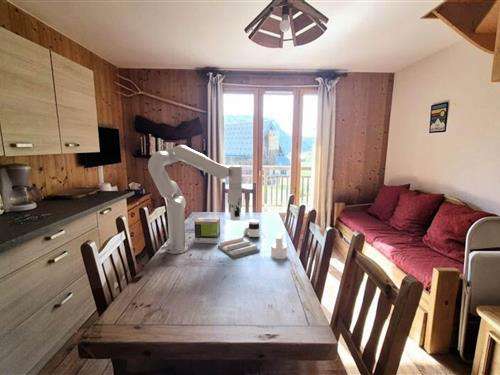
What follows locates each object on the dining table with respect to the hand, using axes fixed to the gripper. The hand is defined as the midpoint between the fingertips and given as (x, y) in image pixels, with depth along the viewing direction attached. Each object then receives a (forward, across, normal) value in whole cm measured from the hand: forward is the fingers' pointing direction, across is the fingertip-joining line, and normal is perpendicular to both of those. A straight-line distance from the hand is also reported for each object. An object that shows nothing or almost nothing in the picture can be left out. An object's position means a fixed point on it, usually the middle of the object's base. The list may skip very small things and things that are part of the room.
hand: (235, 215), depth 157 cm
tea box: (+21, -20, -9) cm, 30 cm away
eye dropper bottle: (+3, 0, 0) cm, 3 cm away
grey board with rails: (+21, +4, 0) cm, 21 cm away
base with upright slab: (+21, +24, +15) cm, 35 cm away
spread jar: (+21, -11, +20) cm, 31 cm away
